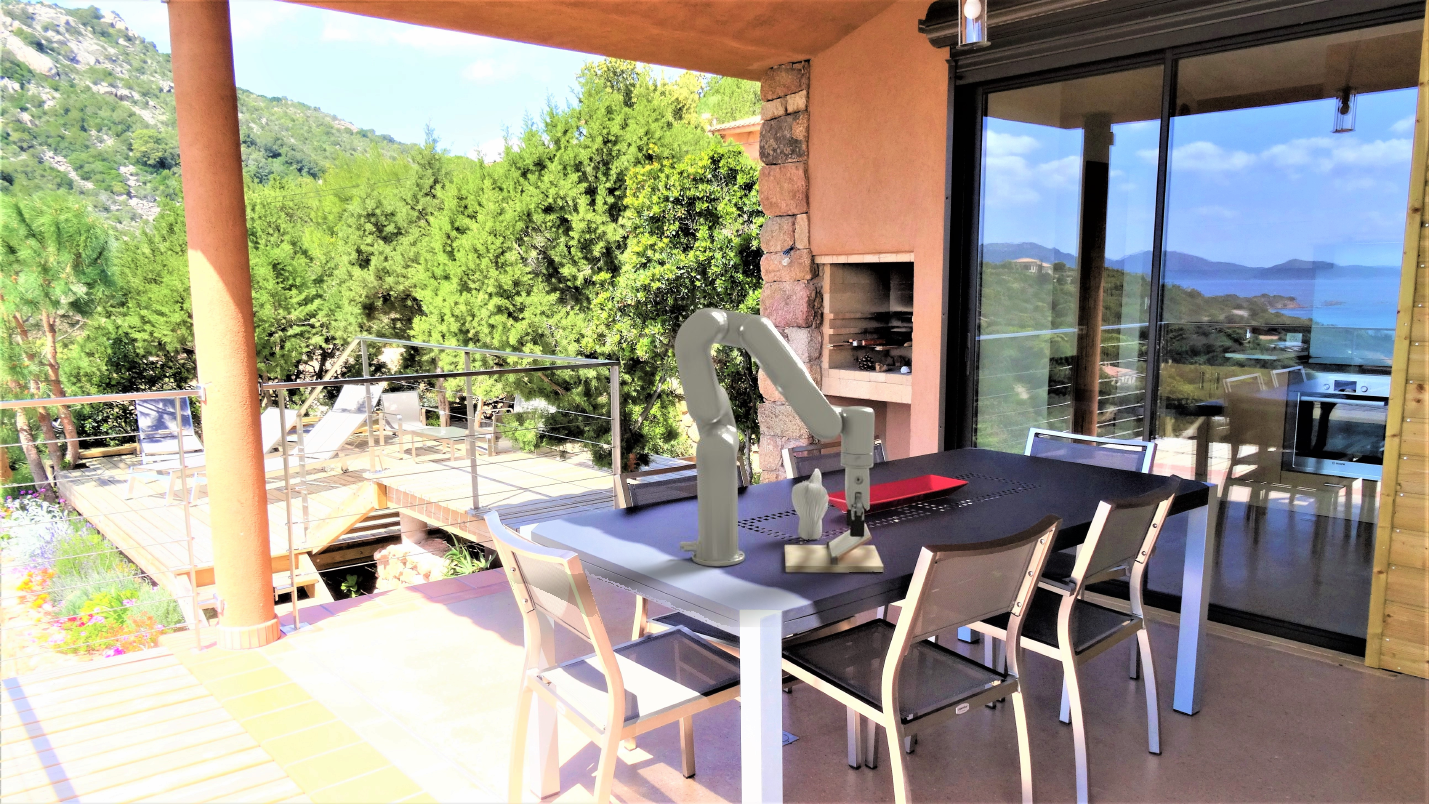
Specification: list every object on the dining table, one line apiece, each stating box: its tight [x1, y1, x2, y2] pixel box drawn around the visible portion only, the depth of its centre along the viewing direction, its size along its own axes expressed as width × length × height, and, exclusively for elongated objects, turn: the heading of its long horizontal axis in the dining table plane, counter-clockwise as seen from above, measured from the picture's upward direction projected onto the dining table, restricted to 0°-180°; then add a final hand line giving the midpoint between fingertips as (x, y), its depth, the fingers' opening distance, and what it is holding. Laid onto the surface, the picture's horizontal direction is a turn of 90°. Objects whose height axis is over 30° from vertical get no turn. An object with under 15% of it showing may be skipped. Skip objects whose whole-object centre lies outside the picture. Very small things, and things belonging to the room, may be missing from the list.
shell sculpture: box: [790, 468, 830, 541], centre depth 224 cm, size 8×8×18 cm
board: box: [784, 539, 884, 573], centre depth 204 cm, size 22×17×3 cm
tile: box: [828, 523, 873, 559], centre depth 204 cm, size 10×12×1 cm
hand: (854, 530), depth 203 cm, fingers open, 9 cm apart
